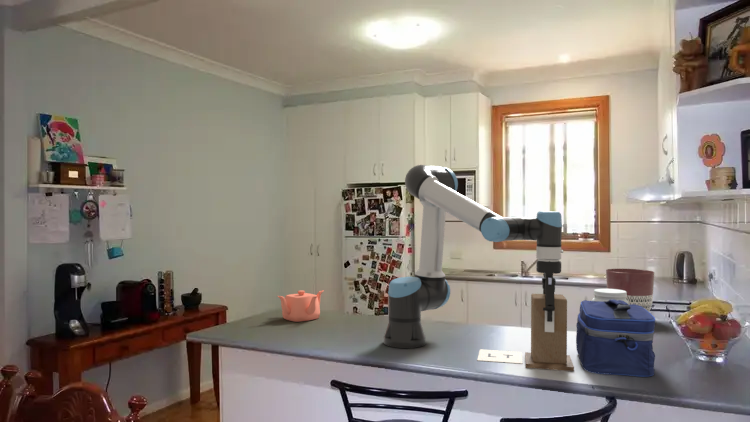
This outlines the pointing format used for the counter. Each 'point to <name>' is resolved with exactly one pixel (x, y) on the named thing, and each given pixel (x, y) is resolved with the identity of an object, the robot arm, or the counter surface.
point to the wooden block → (548, 343)
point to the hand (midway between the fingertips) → (548, 327)
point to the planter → (633, 285)
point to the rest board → (548, 364)
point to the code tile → (500, 356)
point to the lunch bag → (615, 338)
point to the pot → (301, 306)
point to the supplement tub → (610, 295)
